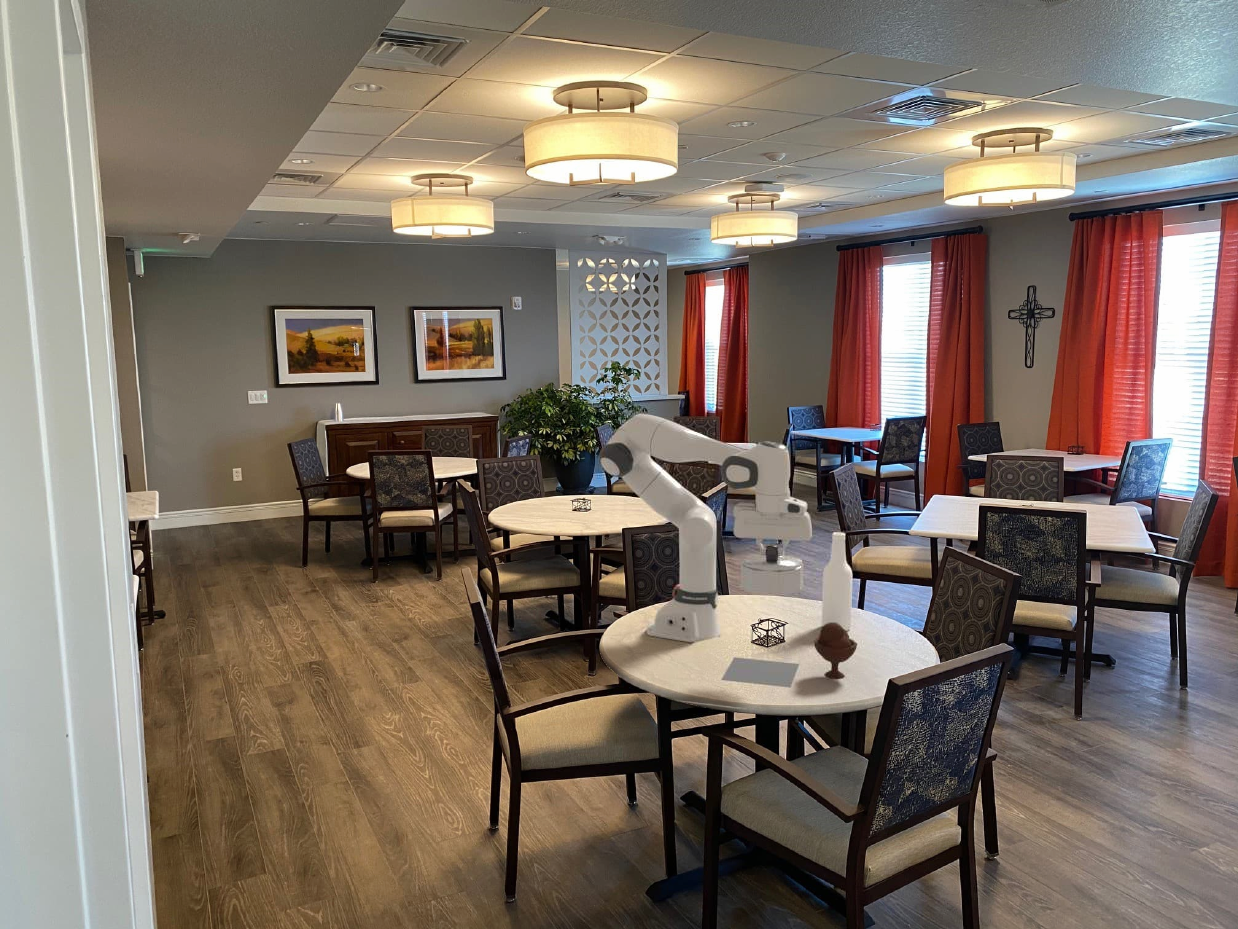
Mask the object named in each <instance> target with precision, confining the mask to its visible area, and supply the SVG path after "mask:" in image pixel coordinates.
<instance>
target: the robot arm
mask: <svg viewBox="0 0 1238 929" xmlns="http://www.w3.org/2000/svg"><path fill="white" fill-rule="evenodd" d="M598 454H599V455H598V461H599V465H600V467H601V468H602V469H603V471H605V473H607V474H608V475H610V476H612V477H615V478H622V480H623V481H624V483H625V484H626V485H627V486H628V487H629V488H630V489H631V491H632V492H634V493H635V494H636V495H637V496H638V497H639V498H640V499H641V500H642V501H643V502H644V503H645V504H646V505H648V507H650V508H651V509H652V510H653V511H654V512H656V514H658V515H660V516H662V517H663V518H664V519H666V521H669V522H670V523H671V524H672V525H674V526H675V527H677V528H678V544H679V545H678V548H679V549H678V550H679V553H678V554H679V583H678V584H676V585H675V586H674V588H673V591H672V597H673V598H672V599H671V600H670V601H668V602H666V603H665V604H664V605H662V606H661V607H660V608H659V609H657V612H656V614H655V617H654V621H653V622H651V623H650V624H649V625H648V626H647V629H646V634H647V635H648V636H651V637H657V638H662V639H668V640H674V641H681V642H685V643H694V642H698V641H705V640H712V639H716V638H718V637H720V636H721V634H722V632H721V628H720V625H719V619H718V611H717V610H718V609H717V607H718V604H719V602H718V601H719V599H718V598H719V597H718V596H719V594H718V588H717V528H718V527H717V517H716V514H715V512H714V511H713V509H712V508H711V507H709V506H708V505H707V504H705V503H704V502H703V501H702V500H701V499H700V498H699V497H697V496H696V495H694V494H693V493H692V492H691V491H689V490H687V489H686V488H685V487H683V485H682V484H680V483H679V482H678V481H677V480H676V479H675V478H673V476H672V475H670V474H669V472H667V470H665V469H664V468H663V467H662V466H660V465H659V464H658V463H657V462H656V461H654V460H653V459H652V457H653V458H656V459H658V460H661V461H666V462H668V463H669V462H671V463H688V462H700V461H701V462H709V463H714V464H716V465H719V466H721V469H720V471H721V472H720V474H721V475H720V476H721V478H722V480H723V483H725V485H726V486H727V487H728V488H730V489H732V490H746V489H749V488H750V489H751V488H753V489H754V490H755V502H739V503H737V504H735V505H734V507H733V508H732V509H733V512H732V513H733V514H732V515H733V518H734V524H733V535H734V536H735V537H736V538H739V539H740V538H741V539H743V538H744V539H755V543H756V545H757V547H758V548H759V551H760V553H759V554H760V555H764V556H766V547H764V545H763V544H762V542H763V540H779V541H780V540H781V543H782V544H783V546H782V547H781V548H778V556H780V557H784V555H785V549H786V548H787V547H788V545H789V543H790V541H794V542H795V541H796V542H808V541H810V540H811V539H812V537H813V528H812V520H811V515H810V514H809V512H807V510H808V503H807V502H806V501H804V500H801V499H798V498H797V497H796V498H795V497H793V496H791V491H790V488H789V487H790V485H789V484H790V483H789V481H790V478H791V462H790V453H789V449H788V448H787V446H786V445H784V444H783V443H780V442H776V441H769V440H763V441H760V442H758V444H756V445H755V446H752V447H751V448H744V447H743V448H742V447H739V446H736V445H733V444H730V443H727V442H724V441H721V440H718V439H716V438H711V437H708V436H706V435H704V434H702V433H700V432H697V431H694V430H692V429H690V428H687V427H686V426H683V425H681V424H679V423H677V422H675V421H671V420H669V419H666V418H663V417H660V416H657V415H652V414H650V413H646V412H644V411H638V412H635V413H634V414H632V415H631V416H630V417H629V418H628V419H627V420H626V421H625V422H624V423H623V424H621V426H620V427H618V428H617V430H616V431H615V432H614V433H613V435H612V436H611V438H609V440H608V441H607V442H606V444H605V445H604V446H603V447H602V448H601V450H600V451H599V453H598Z"/></svg>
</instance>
